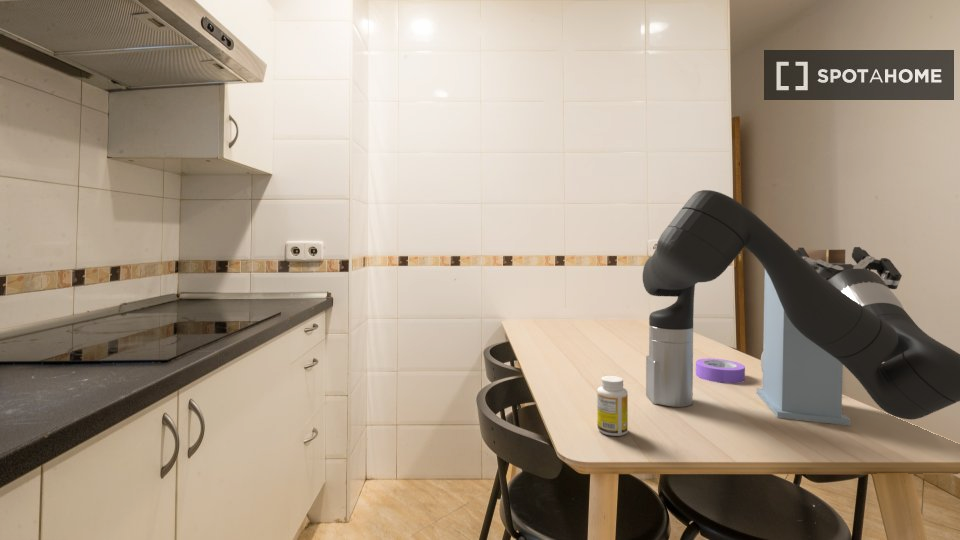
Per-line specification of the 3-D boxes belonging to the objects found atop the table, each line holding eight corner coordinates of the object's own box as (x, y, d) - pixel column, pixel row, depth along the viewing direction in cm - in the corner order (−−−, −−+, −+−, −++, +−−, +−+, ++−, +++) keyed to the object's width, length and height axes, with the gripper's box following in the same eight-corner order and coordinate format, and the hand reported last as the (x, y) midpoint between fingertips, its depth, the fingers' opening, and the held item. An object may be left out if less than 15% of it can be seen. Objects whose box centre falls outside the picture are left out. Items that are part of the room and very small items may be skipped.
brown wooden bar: (828, 263, 76) (828, 249, 76) (783, 260, 98) (784, 250, 98) (845, 263, 75) (845, 249, 75) (796, 260, 97) (796, 249, 97)
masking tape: (754, 384, 110) (754, 369, 110) (708, 384, 110) (709, 369, 110) (729, 371, 122) (729, 358, 121) (688, 371, 122) (688, 358, 122)
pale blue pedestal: (777, 417, 87) (780, 254, 86) (756, 393, 102) (758, 254, 101) (849, 425, 83) (854, 254, 82) (816, 398, 98) (820, 253, 97)
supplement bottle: (620, 424, 84) (620, 373, 84) (632, 436, 79) (633, 382, 78) (592, 426, 84) (592, 375, 83) (603, 438, 78) (603, 383, 78)
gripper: (931, 284, 62) (880, 232, 75) (813, 282, 67) (785, 234, 80) (913, 324, 66) (868, 268, 79) (803, 319, 71) (778, 268, 84)
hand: (826, 251), depth 79 cm, fingers open, 8 cm apart
